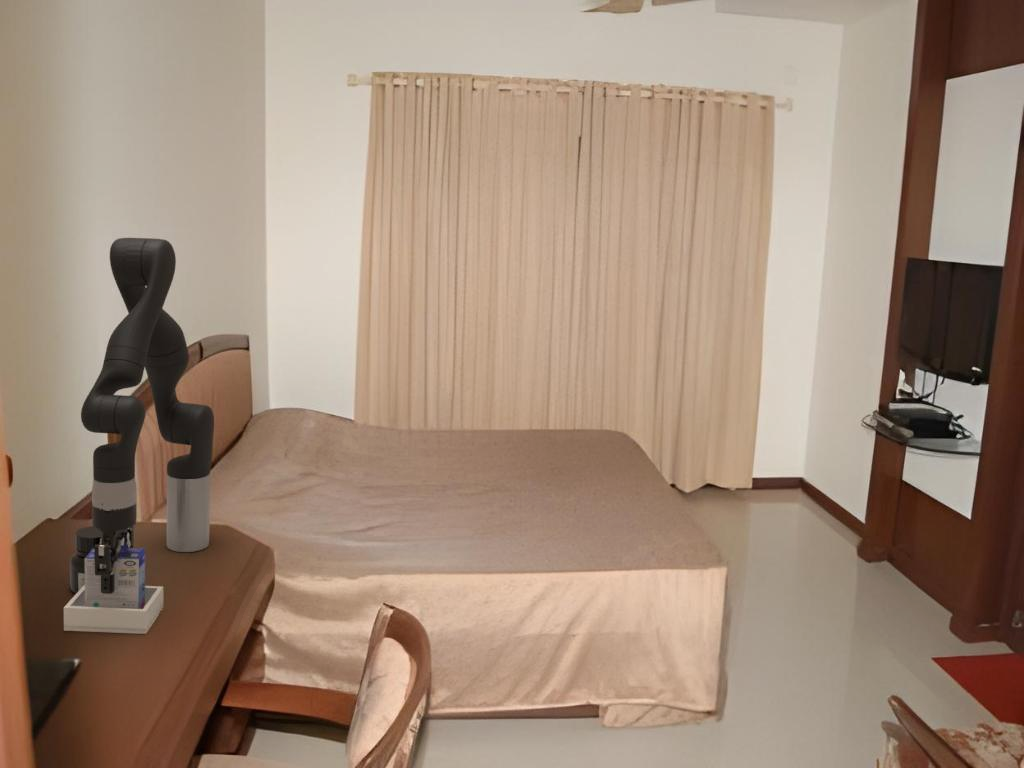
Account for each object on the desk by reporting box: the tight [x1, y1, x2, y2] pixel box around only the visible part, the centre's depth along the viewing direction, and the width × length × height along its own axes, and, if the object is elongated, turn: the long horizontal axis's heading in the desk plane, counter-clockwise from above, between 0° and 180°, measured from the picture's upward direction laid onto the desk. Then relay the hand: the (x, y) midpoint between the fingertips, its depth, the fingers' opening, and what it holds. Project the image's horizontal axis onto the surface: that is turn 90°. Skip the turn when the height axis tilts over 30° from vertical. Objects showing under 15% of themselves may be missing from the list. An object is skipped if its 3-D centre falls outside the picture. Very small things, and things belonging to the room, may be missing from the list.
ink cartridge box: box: [85, 543, 146, 609], centre depth 172 cm, size 10×6×14 cm, turn 100°
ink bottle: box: [69, 525, 103, 594], centre depth 184 cm, size 10×9×12 cm
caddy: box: [63, 585, 164, 635], centre depth 173 cm, size 11×15×4 cm
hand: (115, 583), depth 172 cm, fingers open, 7 cm apart
